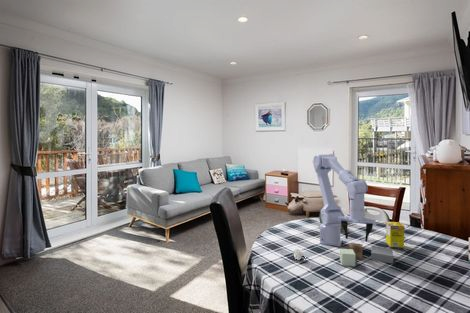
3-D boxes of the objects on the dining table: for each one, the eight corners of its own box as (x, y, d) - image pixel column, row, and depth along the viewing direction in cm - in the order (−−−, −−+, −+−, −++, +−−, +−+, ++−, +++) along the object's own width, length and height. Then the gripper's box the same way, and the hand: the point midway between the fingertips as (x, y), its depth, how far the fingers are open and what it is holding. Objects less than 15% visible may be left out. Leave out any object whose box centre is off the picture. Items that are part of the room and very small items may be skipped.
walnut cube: (349, 257, 116) (349, 246, 116) (350, 253, 121) (350, 242, 120) (362, 260, 114) (362, 248, 114) (362, 255, 119) (362, 244, 118)
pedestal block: (371, 260, 114) (371, 252, 114) (371, 253, 121) (371, 245, 121) (393, 264, 110) (393, 256, 110) (392, 256, 117) (392, 248, 117)
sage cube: (342, 265, 110) (342, 253, 109) (339, 260, 115) (339, 248, 114) (355, 266, 109) (355, 254, 108) (352, 260, 114) (352, 249, 113)
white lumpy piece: (295, 253, 122) (295, 245, 122) (311, 259, 116) (311, 250, 116) (284, 260, 116) (284, 250, 116) (300, 266, 110) (300, 256, 110)
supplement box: (404, 249, 124) (404, 226, 123) (390, 248, 125) (390, 225, 124) (399, 244, 130) (399, 222, 129) (385, 243, 131) (386, 221, 130)
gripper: (337, 209, 116) (337, 240, 117) (376, 212, 109) (375, 245, 110) (339, 205, 122) (339, 234, 123) (375, 208, 116) (375, 239, 116)
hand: (356, 239), depth 117 cm, fingers open, 7 cm apart
